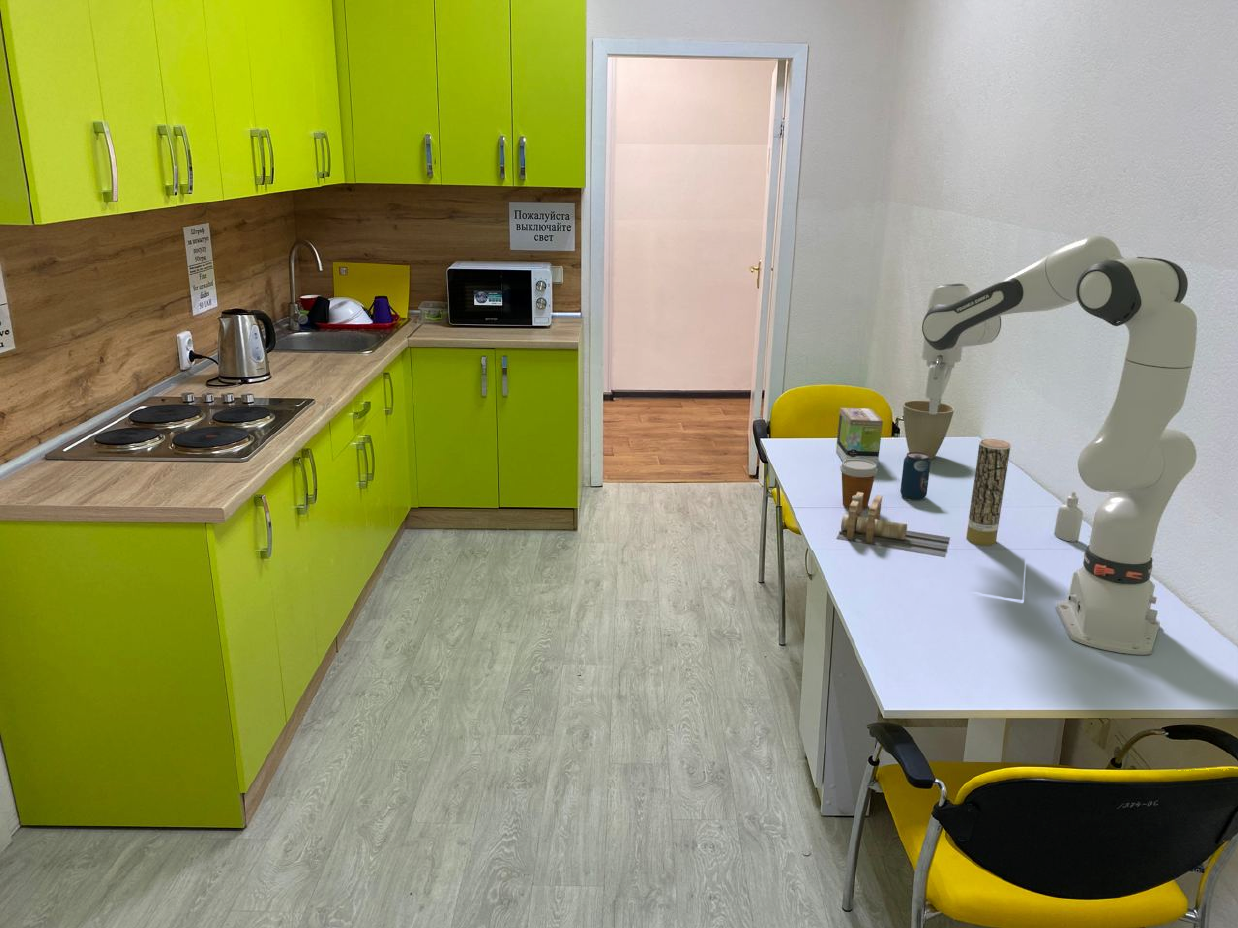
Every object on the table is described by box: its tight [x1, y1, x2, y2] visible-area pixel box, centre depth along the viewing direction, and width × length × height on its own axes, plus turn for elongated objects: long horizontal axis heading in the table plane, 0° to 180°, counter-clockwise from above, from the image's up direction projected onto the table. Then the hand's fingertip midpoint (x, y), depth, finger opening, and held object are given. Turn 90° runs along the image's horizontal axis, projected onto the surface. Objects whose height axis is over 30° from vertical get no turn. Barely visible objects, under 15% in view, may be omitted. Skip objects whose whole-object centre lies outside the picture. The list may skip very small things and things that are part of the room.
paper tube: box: [965, 438, 1011, 547], centre depth 227 cm, size 7×7×25 cm
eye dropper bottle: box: [1053, 491, 1084, 543], centre depth 232 cm, size 4×6×12 cm
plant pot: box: [902, 400, 955, 460], centre depth 293 cm, size 15×15×16 cm
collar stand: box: [835, 492, 951, 558], centre depth 229 cm, size 13×25×10 cm, turn 67°
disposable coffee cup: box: [839, 459, 878, 510], centre depth 250 cm, size 10×10×12 cm
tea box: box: [835, 407, 884, 468], centre depth 289 cm, size 15×10×15 cm, turn 179°
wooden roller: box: [840, 514, 908, 541], centre depth 232 cm, size 15×4×4 cm, turn 67°
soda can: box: [899, 452, 931, 501], centre depth 258 cm, size 7×7×12 cm
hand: (934, 409), depth 230 cm, fingers open, 8 cm apart
